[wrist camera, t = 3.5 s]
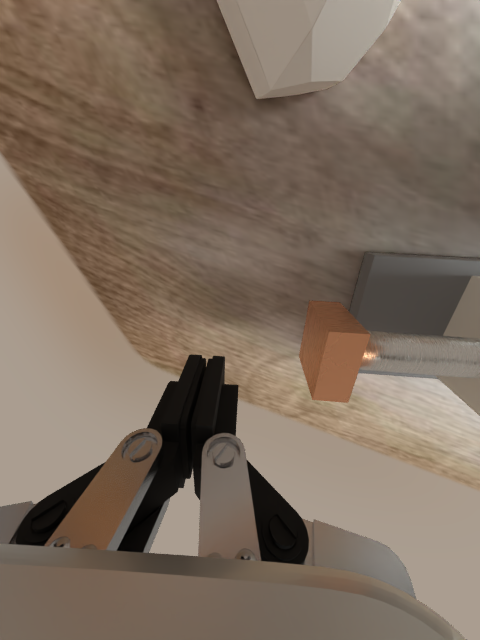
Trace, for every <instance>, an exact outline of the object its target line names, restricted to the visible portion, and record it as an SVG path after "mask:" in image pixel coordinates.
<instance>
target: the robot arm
mask: <svg viewBox="0 0 480 640" xmlns="http://www.w3.org/2000/svg"><path fill="white" fill-rule="evenodd" d="M224 374H225V357H224V356H213V359H208V363H207V367H206V359H205V358H202V355H189V357H188V360H187V362H186V364H185V367H184V369H183V371H182V374H181V376H180V379H179V381H178V382H177V381H176V382H175V381H170V382H169V383H168V385H167V387H166V389H165V391H164V393H163V396H162V397H161V400H160V402H159V404H158V406H157V408H156V410H155V412H154V414H153V416H152V418H151V421H150V422H149V425H148V427H147V428H144V429H139V430H136V431H134V432H132V433H130V434H129V435H127V436H126V437H125V438H124V439H123V440H122V441H121V442H120V444H119V445H118V446H117V448H116V449H115V451H114V452H113V453H112V454H111V456H110V457H109V459H108V460H107V461H106V462H105V463H103V464H101V465H100V466H98V467H96V468H94V469H93V470H91V471H89V472H88V473H86V474H84V475H83V476H81V477H79V478H78V479H76V480H74V481H72V482H71V483H69V484H67V485H66V486H64V487H62V488H61V489H59V490H57V491H56V492H54V493H52V494H51V495H49V496H47V497H46V498H44V499H43V500H41V501H40V502H39V503H37V504H33V503H32V501H29V502H23V503H18V504H13V505H7V506H2V507H0V640H466V639H465V638H464V637H463V636H462V634H460V632H459V631H458V630H456V629H455V628H454V627H453V626H452V625H451V624H450V623H449V622H447V621H446V620H445V619H444V618H443V617H441V616H440V615H439V614H437V613H436V612H435V611H433V610H432V609H430V608H429V607H428V606H427V605H425V604H423V603H422V602H420V601H419V600H417V599H416V597H415V593H414V590H413V586H412V582H411V579H410V577H409V574H408V572H407V570H406V567H405V566H404V564H403V563H402V561H401V560H400V559H399V557H398V556H397V555H396V554H395V553H394V552H393V551H392V550H391V549H390V548H389V547H387V546H386V545H384V544H382V543H380V542H378V541H375V540H373V539H370V538H367V537H363V536H360V535H358V534H355V533H352V532H349V531H346V530H343V529H341V528H338V527H335V526H332V525H329V524H326V523H323V522H320V521H317V520H314V521H313V522H310V521H308V520H305V519H302V518H301V517H300V516H299V514H298V513H297V512H296V511H295V510H294V509H293V508H292V507H291V506H290V505H289V503H288V502H287V501H286V500H285V499H284V498H283V497H282V496H281V495H280V494H279V493H278V492H277V491H276V490H275V489H274V488H273V487H272V486H271V485H270V484H269V483H268V482H267V480H266V479H265V478H264V477H262V475H261V474H260V473H259V472H258V471H257V470H256V469H255V468H254V467H253V466H252V465H251V464H250V463H249V462H248V461H247V460H246V454H245V449H244V445H243V443H242V442H241V440H240V439H239V438H237V437H236V417H237V402H238V385H229V384H224ZM192 469H193V472H194V473H193V474H194V484H195V485H194V486H195V494H196V495H197V497H198V498H199V500H200V522H199V549H198V556H184V555H169V554H155V553H149V551H150V549H151V546H152V544H153V541H154V539H155V536H156V534H157V532H158V529H159V527H160V524H161V522H162V519H163V517H164V514H165V512H166V510H167V507H168V504H169V501H170V497H171V496H173V495H174V494H175V493H176V492H178V488H183V487H184V483H185V479H186V478H187V479H190V477H191V474H192Z"/></svg>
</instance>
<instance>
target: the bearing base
mask: <svg viewBox="0 0 480 640" xmlns="http://www.w3.org/2000/svg"><path fill="white" fill-rule="evenodd" d="M349 312H350V313H351V314H352V315H353V317H354V318H355V319H356V320H357V321H358V322H359V323H360V324H361V325H362V326H363V327H364V328H365V329H366V330H367V331H379V332H393V333H408V334H423V335H437V336H452V337H467V338H480V258H463V257H445V256H427V255H409V254H391V253H373V252H365V255H364V258H363V262H362V266H361V270H360V273H359V277H358V281H357V284H356V288H355V292H354V295H353V299H352V303H351V306H350V310H349ZM358 373H366V374H380V375H393V376H407V377H420V378H433V379H439V380H440V381H442V382H443V383H444V384H445V385H446V386H447V387H448V388H449V389H450V390H452V391H453V392H454V393H455V394H456V395H457V396H458V397H459V398H460V399H462V400H463V401H464V402H465V403H466V404H467V405H468V406H469V407H470V408H472V409H473V410H474V411H475V412H476V413H477V414H478V415H479V416H480V379H476V378H463V377H449V376H436V375H422V374H409V373H395V372H382V371H368V370H359V371H358Z"/></svg>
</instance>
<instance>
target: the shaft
mask: <svg viewBox="0 0 480 640" xmlns="http://www.w3.org/2000/svg"><path fill="white" fill-rule="evenodd" d="M299 358H300V361H301V364H302V367H303V371H304V374H305V377H306V380H307V383H308V387H309V390H310V393H311V396H312V400H321V401H334V402H347V403H348V402H349V399H350V396H351V393H352V389H353V386H354V383H355V380H356V377H357V374H358V371H359V370H368V371H382V372H395V373H409V374H422V375H436V376H449V377H463V378H476V379H480V338H467V337H452V336H437V335H423V334H408V333H393V332H379V331H367V330H366V329H365V328H364V327H363V326H362V325H361V324H360V323H359V322H358V321H357V320H356V319H355V318H354V317H353V315H352V314H351V313H350V312H349V311H348V310H347V309H346V308H345V307H344V306H343V305H342V304H341V303H340V302H325V301H309V306H308V311H307V316H306V322H305V327H304V332H303V338H302V343H301V348H300V354H299Z"/></svg>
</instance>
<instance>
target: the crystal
mask: <svg viewBox="0 0 480 640" xmlns="http://www.w3.org/2000/svg"><path fill="white" fill-rule="evenodd" d="M400 2H401V0H217V3H218V5H219V8H220V10H221V13H222V15H223V18H224V20H225V23H226V25H227V28H228V30H229V33H230V35H231V38H232V40H233V42H234V45H235V47H236V50H237V52H238V55H239V57H240V60H241V62H242V65H243V67H244V70H245V72H246V75H247V77H248V80H249V82H250V85H251V87H252V90H253V92H254V95H255V97H256V99H263V98H274V97H284V96H292V95H299V94H304V93H309V92H314V91H319V90H324V89H329V88H330V87H332V86H334V85H336V84H338V83H340V82H342V81H343V80H344V79H345V78H346V77H347V75H348V74H349V73H350V72H351V70H352V69H353V68H354V67H355V66H356V64H357V63H358V62H359V61H360V59H361V58H362V57H363V56H364V55H365V53H366V52H367V51H368V50H369V48H370V47H371V46H372V45H373V44H374V42H375V41H376V40H377V39H378V37H379V36H380V35H381V34H382V32H383V31H384V30H385V29H386V27H387V25H388V24H389V22H390V20H391V18H392V16H393V14H394V13H395V11H396V9H397V7H398V5H399V3H400ZM319 13H320V14H319ZM318 15H319V16H318ZM317 17H318V18H317ZM316 19H317V20H316ZM315 21H316V22H315ZM314 23H315V24H314ZM313 25H314V26H313ZM312 27H313V28H312ZM310 30H311V31H310ZM308 33H309V34H308ZM306 36H307V37H306ZM304 39H305V40H304ZM302 42H303V43H302Z"/></svg>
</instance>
